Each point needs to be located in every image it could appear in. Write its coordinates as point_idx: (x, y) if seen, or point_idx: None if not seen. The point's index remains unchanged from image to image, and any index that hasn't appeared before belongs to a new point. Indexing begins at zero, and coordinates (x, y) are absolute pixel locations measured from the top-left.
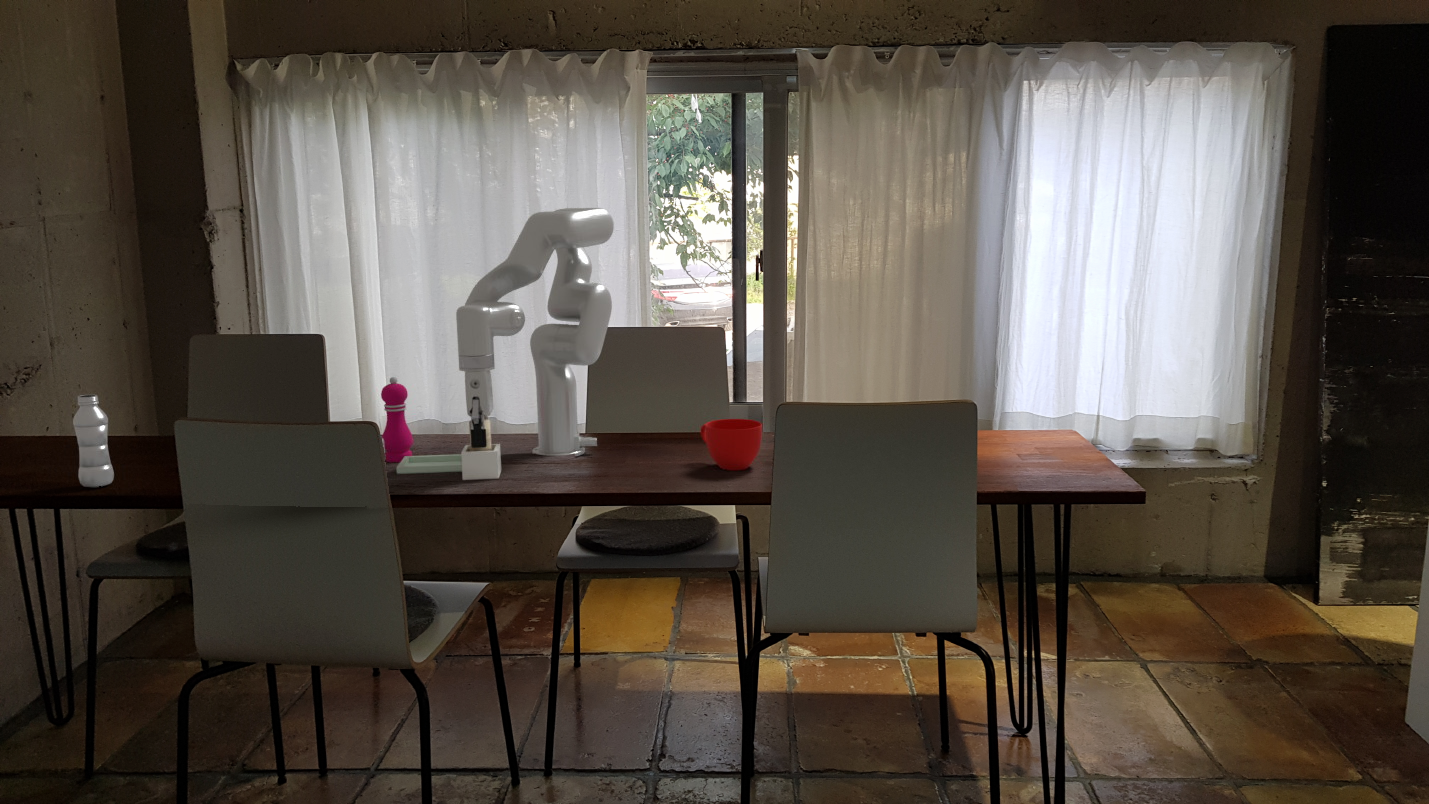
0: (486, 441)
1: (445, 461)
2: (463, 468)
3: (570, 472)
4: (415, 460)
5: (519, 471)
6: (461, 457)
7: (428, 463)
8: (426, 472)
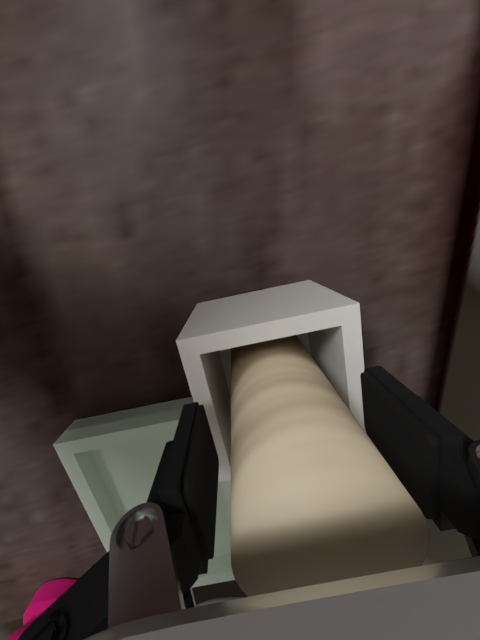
0: (380, 379)
1: (114, 498)
2: None
3: (130, 9)
4: None
5: (145, 253)
6: None
7: None
8: None
